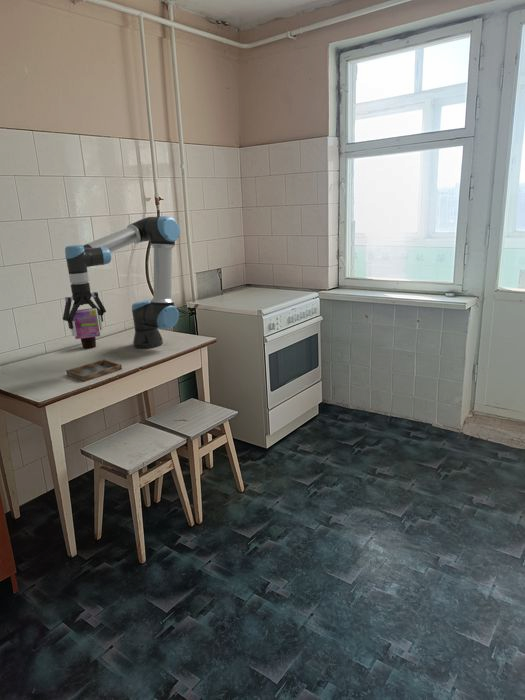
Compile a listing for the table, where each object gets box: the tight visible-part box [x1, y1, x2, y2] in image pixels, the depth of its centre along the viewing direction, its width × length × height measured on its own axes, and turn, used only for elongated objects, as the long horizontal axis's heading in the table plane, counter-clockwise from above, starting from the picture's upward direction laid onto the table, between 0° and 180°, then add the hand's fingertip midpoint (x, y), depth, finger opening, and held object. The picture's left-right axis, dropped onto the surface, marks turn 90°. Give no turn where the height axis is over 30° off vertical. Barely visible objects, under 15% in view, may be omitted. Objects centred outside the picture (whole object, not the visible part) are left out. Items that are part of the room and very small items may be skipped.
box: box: [72, 307, 102, 340], centre depth 214 cm, size 10×6×12 cm, turn 105°
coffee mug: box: [80, 337, 97, 350], centre depth 261 cm, size 12×9×10 cm
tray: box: [66, 359, 123, 382], centre depth 220 cm, size 19×15×2 cm
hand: (87, 332), depth 215 cm, fingers closed on box, 12 cm apart
